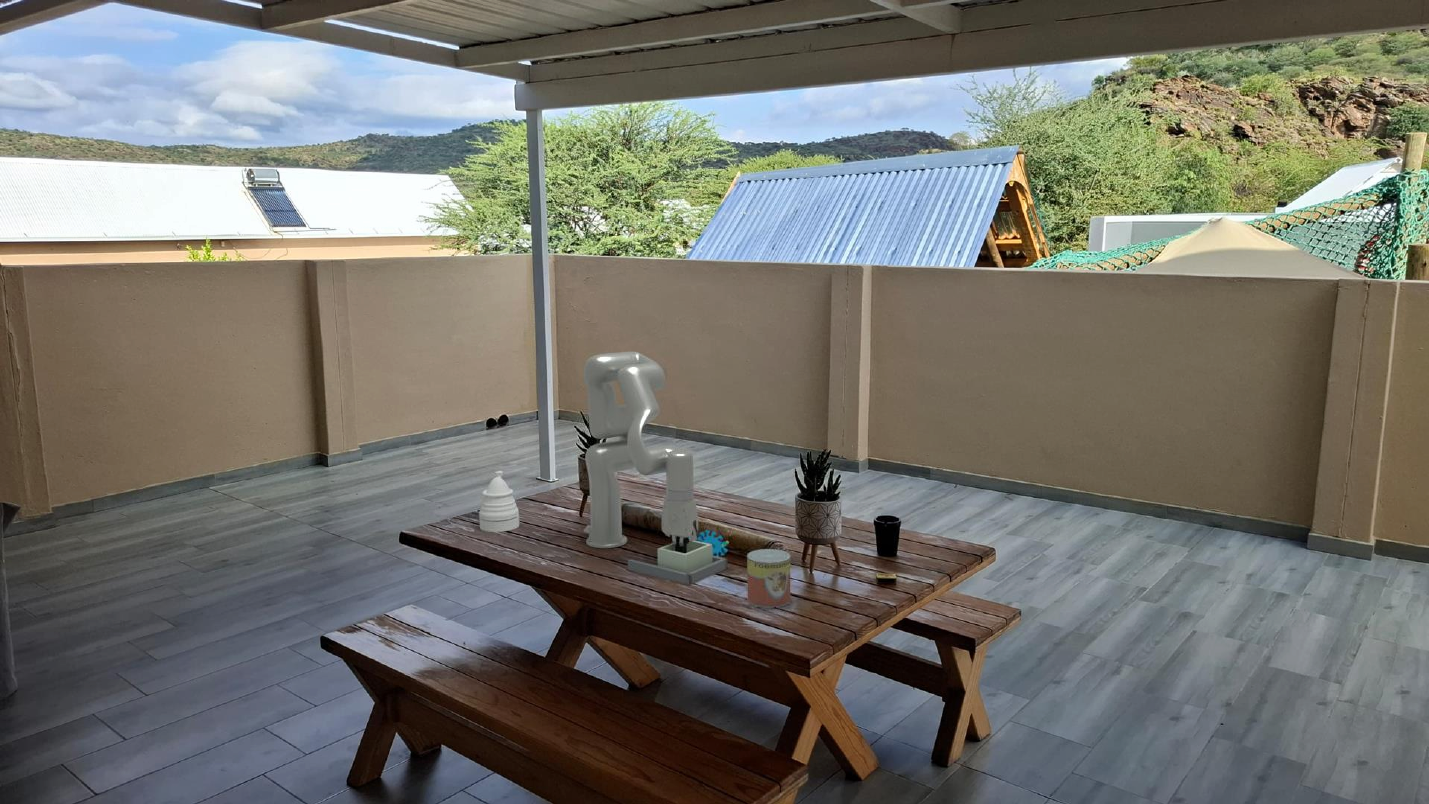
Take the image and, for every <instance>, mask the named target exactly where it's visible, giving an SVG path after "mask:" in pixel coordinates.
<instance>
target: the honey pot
mask: <svg viewBox="0 0 1429 804" xmlns="http://www.w3.org/2000/svg"><path fill="white" fill-rule="evenodd" d="M494 473H495V476H496V477H494V478H492V480H490V482H489V484H488V486H487V488H486V489H484V490H483V491H482V492H481V494H482V496H483V499H482V501H481V505H480V510H479V512H478V514H479V515H478V516H479V529H480V530H481V531H484V532H492V533H495V532H496V533H499V532H500V533H501V532H507V531H511V530H516V529H517V528H519V527H520V515H519V513H520V512H519V511H520V510H519V507H517V503H516V500H515V498H514V496H513V494H514V490H513V488H509V486H508V484H507V482H506V481H505V480H504V479H503V478H502V477H503V475H504V471H503V470H498V471H495V472H494Z"/></svg>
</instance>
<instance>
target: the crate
mask: <svg viewBox="0 0 1429 804" xmlns="http://www.w3.org/2000/svg"><path fill="white" fill-rule="evenodd" d="M711 563H713V559H712V544H708V543H703V542H699V541H697V540H695V541H690V542H689V543H688V544H687V553H685V554H684V553H680V552H675V545H674V544H673V542H672V543H669V544H666V545H663V546H661V547H659V548H657V566H660V567H664V568H668V569H672V570H676V571H680V572H684V573H690V572H693V571H695V570H697V569H700V568H702V567H704V566H707V565H709V564H711Z"/></svg>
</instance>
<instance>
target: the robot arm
mask: <svg viewBox="0 0 1429 804" xmlns="http://www.w3.org/2000/svg"><path fill="white" fill-rule="evenodd" d="M583 378H584V379H583V380H584V384H585V386H586V390H587V399H588V403H587V404H588V406H587V407H588V423H589V424H588V425H589V426H588V427H589V431H590V434H591V436H592V437H593V438H595V439H599V440H602V439H603V440H604V439H605V440H606V439H611V438H619V439H618V440H613V441H605V442H600V443H599V442H598V443H595V444H593V445H591V446H590V447H589V448H588V449H587V450H586V452H585V464H586V469H587V474H588V482H589V503H590V504H589V506H590V524H587V525H586V527H585V528H584V529H583V532H584V533H585V534H588V537H587V539H586V540H585V542H586V546H588V547H590V548H596V549H612V548H613V549H614V548H618V547H621V546H624V545H625V544H627V543H628V537H627V536H625V535H624V534H623V529H622V527H623V525H622V523H623V522H622V495H621V494H622V493H621V492H622V490H621V484H620V481H618V480H617V478H616V477H615V475H614V473H617V472H623V471H629V470H633V469H635V470H636V471H637V472H638V473H639V474H641V475H643V476H652V475H660V474H664V473H665V477H666V478H665V479H666V480H665V481H666V484H665V488H664V490H663V491H664V493H666V497H665V498H664V499H663V503H662V510H661V531H662V532H663V533H664V535H665V536H667V537H669V538H670V539H671V540H672V543H673V544H674V545H675V552H680V553H684V554H685V553H687V544H688V543H689V542H690V541H697V538H698V536H697V534H698V532H699V519H698V518H699V516H698V508H697V502H696V499H694V495H695V494H694V456H693V453H692V452H691V451H690V450H686V449H682V448H680V447H678V446H677V445H673V444H667V445H660V446H655V447H654V446H653V447H649V448H646V444H645V442H644V440H643V433H642V432H643V429H644V428H643V427H644V426H645V425H647V424H648V423H650V422H652V421H653V420H655V418H656V417H658V416H659V414H660V413H661V412H660V411H661V409H660V406H659V404H658V402H657V399H656V397H655V394H654V392H655V391H660V390H662V389H663V388H664V386H665V384H666V375H665V372H664V369H663V368H662V367H661V366H660V364H658V363H657V362H656V361H654V360H653V359H651V358H649V357H647V356H645V354H642V353H640V352H637V351H622V352H621V351H620V352H608V353H601V354H596V355H592V356H591V357H589V358H588V359H587V360H586V362H585V364H584V367H583ZM611 382H617V384H618V386H619V389H620V391H621V394H622V397H623V400H624V402H625V404H620V405H617V393H616V390H615V388H614V386H613V385H612V384H611Z"/></svg>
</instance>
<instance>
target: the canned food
mask: <svg viewBox="0 0 1429 804" xmlns="http://www.w3.org/2000/svg"><path fill="white" fill-rule="evenodd" d="M791 556H792V555H791V554H790V553H789V552H788V551H785V550H780V549H776V548H775V549H773V548H762V549H756V550H752V551H750V552H748V553H747V555H746V559H747V560H746V561H747V564H746V565H747V569H746V571H747V572H746V573H747V577H746V579H747V581H746V582H747V598H746V600H747V603H748V604H750V605H751V606H753V607H757V608H758V607H759V608H763V609H774V607H776V608H780V607H779V606H782V607H785V606H787V605H789V604H790V603H791V600H792V599H791V558H792V557H791ZM788 603H789V604H788ZM786 604H787V605H786ZM784 605H785V606H784Z"/></svg>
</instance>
